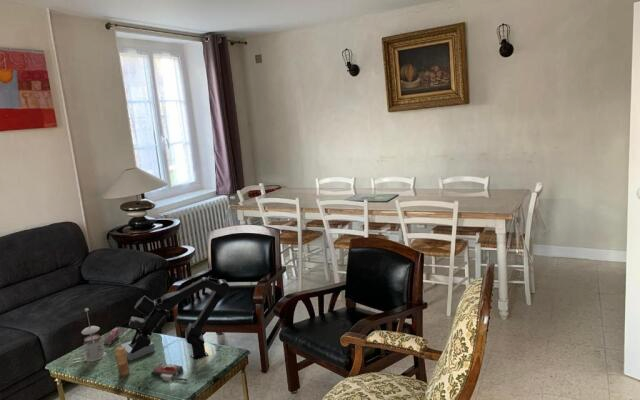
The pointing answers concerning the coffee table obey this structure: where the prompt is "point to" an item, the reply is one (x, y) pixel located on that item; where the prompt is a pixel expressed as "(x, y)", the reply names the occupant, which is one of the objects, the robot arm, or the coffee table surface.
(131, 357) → the socket block
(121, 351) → the peg
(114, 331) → the video game controller
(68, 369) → the coffee table surface
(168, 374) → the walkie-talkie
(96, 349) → the french press
